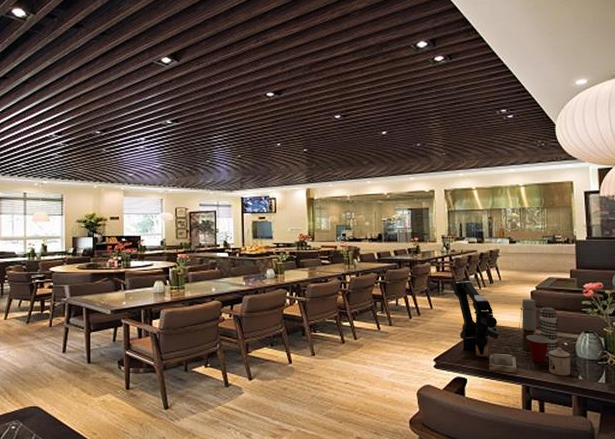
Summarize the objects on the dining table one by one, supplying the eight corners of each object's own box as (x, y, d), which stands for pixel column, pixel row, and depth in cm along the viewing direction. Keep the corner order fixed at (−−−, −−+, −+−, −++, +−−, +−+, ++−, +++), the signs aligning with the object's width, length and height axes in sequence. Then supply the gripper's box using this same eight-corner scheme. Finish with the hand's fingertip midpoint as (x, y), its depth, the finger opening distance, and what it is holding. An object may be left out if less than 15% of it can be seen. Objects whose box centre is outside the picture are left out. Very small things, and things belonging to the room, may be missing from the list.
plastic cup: (538, 365, 217) (537, 341, 217) (522, 358, 228) (521, 336, 228) (555, 363, 220) (555, 339, 220) (539, 357, 231) (538, 334, 231)
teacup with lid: (546, 368, 212) (546, 344, 212) (567, 370, 210) (566, 346, 210) (553, 377, 201) (553, 351, 201) (575, 378, 198) (575, 353, 198)
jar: (475, 355, 230) (475, 344, 230) (476, 352, 235) (476, 341, 235) (488, 357, 227) (488, 345, 227) (488, 353, 233) (488, 342, 233)
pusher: (493, 364, 218) (493, 354, 218) (493, 363, 220) (493, 353, 220) (511, 367, 214) (511, 356, 214) (511, 365, 217) (511, 355, 217)
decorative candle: (546, 350, 241) (545, 306, 242) (562, 355, 233) (561, 308, 233) (535, 353, 237) (534, 307, 238) (551, 357, 229) (550, 310, 229)
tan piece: (489, 369, 212) (489, 364, 212) (490, 359, 228) (490, 354, 228) (516, 372, 207) (516, 367, 207) (515, 361, 223) (515, 356, 223)
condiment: (538, 351, 241) (538, 329, 241) (530, 353, 237) (529, 331, 237) (525, 348, 247) (525, 327, 248) (517, 350, 243) (517, 329, 243)
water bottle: (536, 341, 262) (536, 299, 262) (535, 344, 255) (535, 301, 255) (520, 339, 267) (519, 298, 267) (518, 342, 260) (517, 300, 260)
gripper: (498, 328, 220) (498, 359, 219) (498, 321, 237) (498, 349, 236) (474, 326, 224) (474, 357, 224) (476, 319, 241) (476, 347, 241)
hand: (482, 352), depth 231 cm, fingers closed on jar, 6 cm apart
